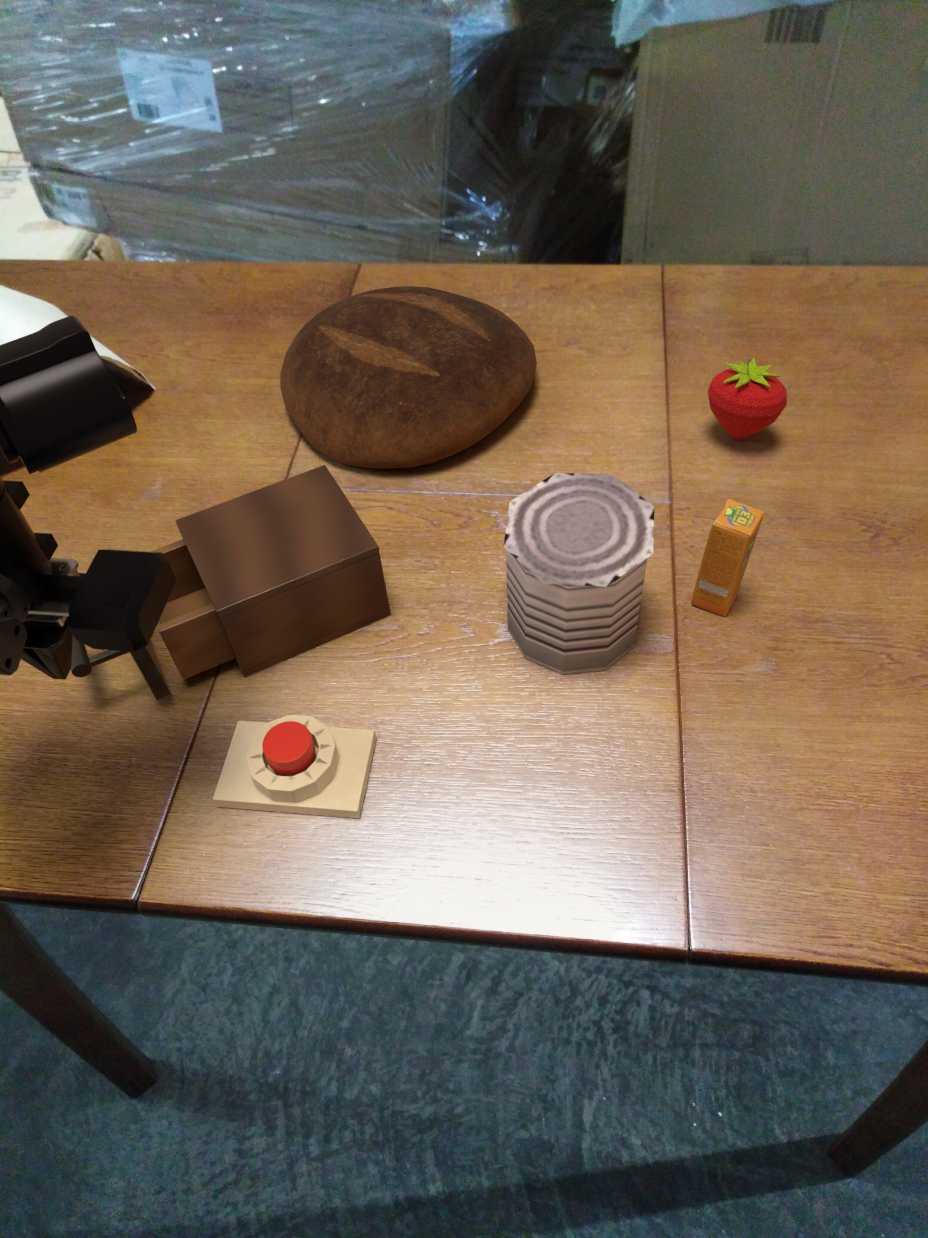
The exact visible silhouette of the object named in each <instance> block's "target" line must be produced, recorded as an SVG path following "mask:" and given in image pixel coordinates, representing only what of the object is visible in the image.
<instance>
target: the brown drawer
mask: <svg viewBox="0 0 928 1238" xmlns="http://www.w3.org/2000/svg"><path fill="white" fill-rule="evenodd" d="M149 552H162V553H163V555H164V556H165V557H166V559H167V560H168V562H169V564H170V566H171V568H172V571H173V573H174V575H175V577H176V580H177V581H176V583H175V585H174V587H173V590H172V592H171V594H170V597H169V599H168V601H167V603H166V606H165V608H164V610H163V612H162V615H161V617H160V619H159V623H160V624H159V623H158V624H157V626H156V629H157V631H158V633H159V635H160V637H161V640H162V641H163V643H164V645H165V646H166V649H167V651H168V653H169V654H170V655H169V656H170V657H171V659H172V660H173V663H174V664H175V666H176V668H177V671H178V673H179V674H180V677H181V679H182V680H183V681H184V680H186V679H189V678H191V677H193V676H196V675H199V674H201V673H203V672H205V671H208V670H210V669H213V668H215V667H217V666H220V665H222V664H224V663H227V662H229V661H231V660H234V659H235V655H234V653H233V651H232V648H231V646H230V643H229V641H228V639H227V636H226V634H225V631H224V629H223V627H222V624H221V622H220V619H219V617H218V615H217V612H216V610H215V608H214V605H213V603H212V601H211V599H210V597H209V594H208V592H207V590H206V588H205V586H204V584H203V581H202V579H201V577H200V575H199V573H198V570H197V568H196V566H195V564H194V562H193V559H192V557H191V555H190V553H189V551H188V548H187V546H186V544H185V542H184V540H183V538H182V539H179V540H175V541H174V542H171V543H169V544H165V545H163V546H161V547H158V548H155V549H152V550H150V551H149ZM128 653H130V655H131V657H132V659H133V661H134V662H135V664H136V665H137V668H138V669H139V671H140V673H141V675H142V677H143V679H144V680H145V681H146V683H147V685H148V688H149V689H150V691H151V693H152V694H153V696H154V698H155V699H156V701H160V700H162V699H164V698H167V697H169V696H171V695H172V693H171V690H170V687H169V685H168V682H167V680H166V677H165V675H164V672H163V670H162V666H161V664H160V662H159V659H158V656H157V653H156V651H155V649H154V645H153V643H152V640H150V642H149V644H148V645H147V646H145V647H144V648H142V649H140V650H138V651H136V652H130V651H116V650H103V651H101V652H99V653H96V654H95V655H92V656H89V652H88V651H87V647H86V645H85V644H83V643H81V642H79V641H77V640H76V639H75V638H74V636H73V642H72V663H71V670H70V672H71V674H72V676H74V677H75V678H84V677H87V676H89V675H90V674H91V673H92V672H93V667H96V666H98V665H101V664H103V663H106V662H108V661H111V660H113V659H116V658H119V657H121V656H123V655H126V654H128Z"/></svg>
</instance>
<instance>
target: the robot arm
mask: <svg viewBox="0 0 928 1238" xmlns="http://www.w3.org/2000/svg"><path fill="white" fill-rule="evenodd" d="M137 432H138V427H137V423H136V420H135V416H134V414H133V411H132V409H131V406H130V404H129V401H128V399H127V398H126V396H125V394H124V393H123V392H122V390H121V389H120V388H119V386H118V385H117V384H116V382H115V381H114V379H113V377H112V375H111V373H110V372H109V370H108V368H107V366H106V364H105V362H104V360H103V358H102V357H101V356H100V354H99V352H98V350H97V349H96V347H95V344H94V341H93V338H92V337H91V334H90V333H89V331H88V330H87V328H86V327H85V326H84V325H83V323H82V322H81V321H80V319H78V317H77V316H74V315H73V314H72V315H71V314H70V315H68V316H65V317H63V318H60V319H57V320H55V321H53V322H50V323H48V324H47V325H45V326H44V327H42V328H41V329H39V330H37V331H35V332H33V333H32V332H31V333H30V334H27V335H24V336H21V337H18V338H16V339H14V340H11V341H7V342H5V343H2V344H0V449H1V451H2V453H3V455H4V457H5V458H6V460H7V462H8V464H9V465H10V464H13V463H16V462H18V461H20V460H21V462H22V464H23V465H24V467H25V469H26V471H27V472H28V474H29V475H32V474H34V473H37V472H38V473H39V474H41V473H44V472H45V471H48V470H51V469H52V468H53V469H54V468H55V467H58V466H60V465H63V464H65V463H67V462H69V461H72V460H75V459H77V458H79V457H82V456H84V455H87V454H89V453H92V452H94V451H96V450H98V449H101V448H103V447H106V446H108V445H110V444H113V443H115V442H118V441H120V440H123V439H125V438H127V437H130V436H132V435H134V434H137ZM30 495H31V494H30V492H29V490H28V489H27V487H26V485H25V483H24V482H23V480H5V479H3V477H2V476H1V475H0V676H12V675H13V674H15V673H16V672H17V671H18V669H19V668H20V663H21V661H23V662H25V663H26V664H28V665H30V666H32V667H33V668H34V669H36V670H38V671H39V672H41V673H42V674H44V675H46V676H47V677H49V678H51V679H53V680H62V681H64V680H65V681H66V680H67V678H68V676H69V674H70V672H71V663H72V642H73V636H74V638H75V639H76V640H77V641H79V642H81V643H83V644H85V646H87V647H89V648H91V649H93V650H101V651H107V650H116V651H130V652H136V651H138V650H140V649H142V648H144V647H145V646H147V645H148V644H149V642H150V640H151V639H152V637H153V635H154V633H155V631H156V629H157V625H159V623H160V621H159V619H160V617H161V615H162V612H163V610H164V608H165V606H166V603H167V601H168V599H169V597H170V594H171V592H172V590H173V587H174V585H175V583H176V581H177V580H176V577H175V575H174V573H173V571H172V568H171V566H170V564H169V562H168V560H167V559H166V557H165V556H164V555H163V553H162V552H150V551H144V550H129V549H111V548H106V549H105V548H103V549H98V550H97V551H96V553H95V555H94V557H93V559H92V560H91V562H90V564H89V567H88V568H87V570H86V572H79V570H78V568H79V562H78V561H77V560H76V559H75V558H74V559H73V558H57V557H53V555H54V554H55V552H56V551H57V549H58V547H59V544H58V542H57V540H56V539H55V537H54V535H53V533H49V532H48V533H47V532H35V531H33V529H32V527H31V526H30V524H29V522H28V520H27V519H26V517H25V515H24V514H23V512H22V508H23V506H24V505H25V504H26V502H27V500H28V498H29V497H30ZM151 641H152V640H151ZM130 652H129V653H130Z"/></svg>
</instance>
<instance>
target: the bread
mask: <svg viewBox="0 0 928 1238" xmlns="http://www.w3.org/2000/svg"><path fill="white" fill-rule="evenodd" d="M537 365H538V361H537V356H536V351H535V345H534V344H533V342H532V341H531V339H530V338H529V336H528V335H527V334H526V332H525V330H523V329H522V328H521V327H520V326H519V324H517V323H516V322H515V321H514V320H512V319H511V317H509V316H508V315H507V314H506V313H504V312H503V311H501V310H499V309H497V308H495V307H494V306H492V305H490V304H488V303H485V302H481V301H479V300H477V299H475V298H471V297H468V296H463V295H460V294H457V293H453V292H450V291H446V290H442V289H437V288H433V287H428V286H414V285H405V286H389V287H382V288H376V289H372V290H367V291H362V292H360V293H357V294H354V295H350V296H348V297H344V298H343V299H341V300H339V301H336V302H334V303H332V304H330V305H329V306H327V307H325V308H324V309H323V310H321V311H319V312H318V313H317V314H315V315H314V316H313V317H312V318H311V319H309V320H308V321H307V322H306V323H305V324H303V326H302V327H301V328H300V329H299V331H298V332H297V333H296V335H295V336H294V338H293V340H292V341H291V343H290V345H289V346H288V348H287V350H286V352H285V355H284V357H283V362H282V365H281V369H280V373H279V378H280V380H279V385H280V387H279V388H280V391H281V397H282V401H283V404H284V407H285V410H286V412H287V414H288V415H289V417H290V418H291V420H292V421H293V423H294V424H295V426H296V427H297V428H298V430H299V431H300V432H301V434H302V435H303V437H304V438H305V439H306V441H307V442H308V443H309V444H310V445H311V446H312V447H313V448H315V450H317V451H318V452H319V453H320V454H321V455H323V456H325V457H326V458H329V459H330V460H333V461H335V462H337V463H339V464H343V465H348V466H353V467H357V468H367V469H410V468H415V467H416V468H417V467H420V466H425V465H431V464H434V463H436V462H439V461H441V460H444V459H446V458H449V457H451V456H454V455H456V454H458V453H460V452H462V451H464V450H466V449H467V448H470V447H471V446H474V445H475V444H477V443H480V441H481V440H482V439H484V438H485V437H486V436H488V435H489V434H490V433H492V432H493V431H494V430H496V429H497V428H498V427H499V426H500V425H501V424H502V423H503V422H505V421H506V420H507V418H508V417H509V416H510V415H511V414H512V413H513V412H515V410H516V409H518V407H519V405H520V404H521V403H522V401H523V400H524V399H525V397H526V396H527V394H528V393H529V392H530V390H531V386H532V385H533V384H532V383H533V380H534V377H535V374H536V370H537Z"/></svg>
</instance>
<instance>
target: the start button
mask: <svg viewBox="0 0 928 1238" xmlns="http://www.w3.org/2000/svg"><path fill="white" fill-rule="evenodd" d="M262 748H263V752H264V754H265V757H266V759H267V761H268V764H269V766H270V767H271V768H272V769H273V770H274V771H276V772H278V773H280V774H285V775H291V774H296V773H299V772H301V771H303V770H304V769H306V768H307V767H308V766H309V765H310V764H311V762H312V760H313V758H314V756H315V745H314V742H313V739H312V736H311V734H310V731H309V730H308V728H307V727H306V726H304V725H303V724H301V723H298V722H294V721H287V722H282V723H279V724H277V725H275V726H274V727H272V728H271V729H270V730H269V731H268V732H267V734H266V735H265V737H264V739H263V743H262Z"/></svg>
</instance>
